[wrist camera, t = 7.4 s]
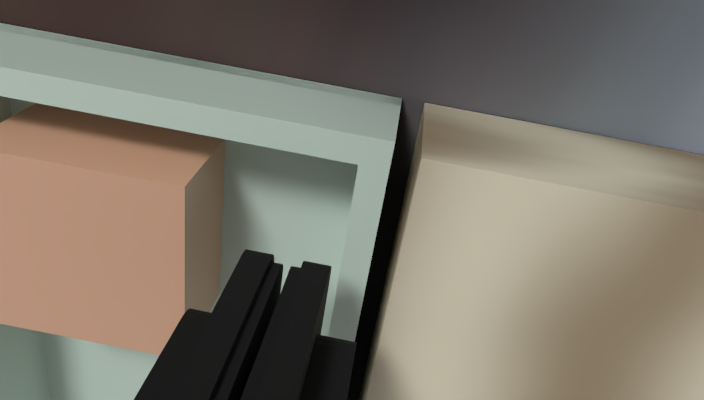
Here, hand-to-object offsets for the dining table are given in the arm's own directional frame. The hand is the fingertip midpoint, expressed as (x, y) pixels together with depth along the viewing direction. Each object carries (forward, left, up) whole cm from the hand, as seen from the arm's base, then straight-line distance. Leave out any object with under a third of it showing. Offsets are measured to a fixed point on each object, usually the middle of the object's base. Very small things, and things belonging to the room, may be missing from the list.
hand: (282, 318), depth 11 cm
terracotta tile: (+4, 0, -1) cm, 5 cm away
